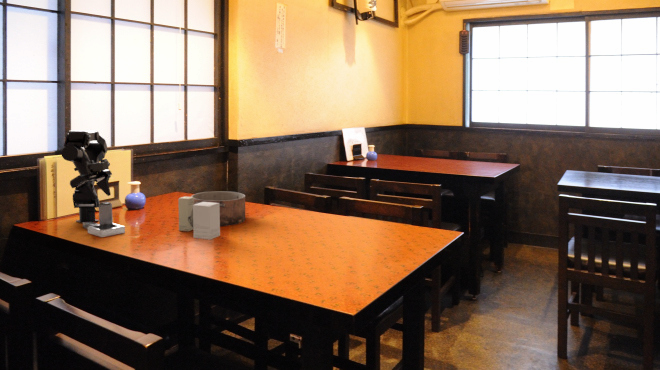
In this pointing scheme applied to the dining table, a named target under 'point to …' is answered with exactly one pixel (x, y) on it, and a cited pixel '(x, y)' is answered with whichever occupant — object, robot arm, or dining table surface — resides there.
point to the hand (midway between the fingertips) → (102, 197)
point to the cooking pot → (225, 205)
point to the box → (185, 213)
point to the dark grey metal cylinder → (105, 215)
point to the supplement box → (206, 220)
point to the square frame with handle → (95, 229)
